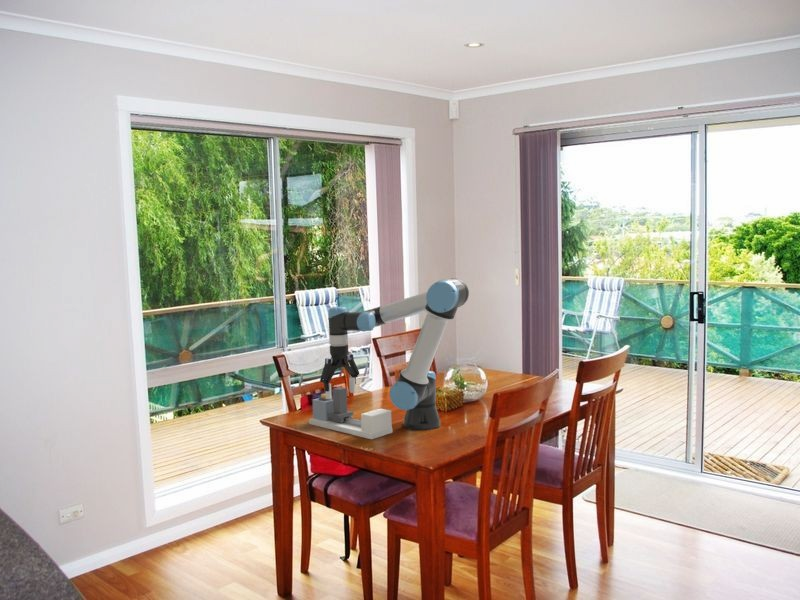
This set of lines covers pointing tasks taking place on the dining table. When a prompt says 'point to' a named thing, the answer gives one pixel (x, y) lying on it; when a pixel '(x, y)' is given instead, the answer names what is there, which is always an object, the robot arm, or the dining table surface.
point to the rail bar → (352, 421)
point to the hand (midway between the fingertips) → (340, 395)
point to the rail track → (347, 428)
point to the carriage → (339, 405)
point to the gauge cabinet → (322, 409)
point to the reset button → (324, 398)
